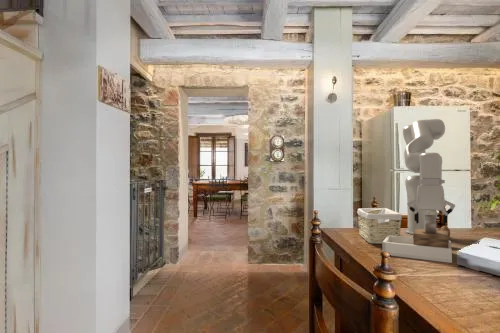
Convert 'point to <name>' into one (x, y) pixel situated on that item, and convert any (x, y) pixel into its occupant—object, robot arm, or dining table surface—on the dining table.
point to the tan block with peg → (431, 234)
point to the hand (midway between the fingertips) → (430, 223)
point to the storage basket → (378, 224)
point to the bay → (415, 249)
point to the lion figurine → (445, 230)
